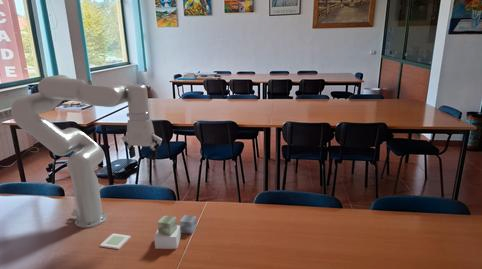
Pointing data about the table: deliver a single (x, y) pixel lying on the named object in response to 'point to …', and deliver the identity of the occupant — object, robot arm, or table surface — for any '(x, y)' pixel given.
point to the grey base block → (167, 240)
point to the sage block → (167, 225)
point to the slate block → (188, 224)
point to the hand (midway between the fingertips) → (143, 158)
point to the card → (115, 241)
